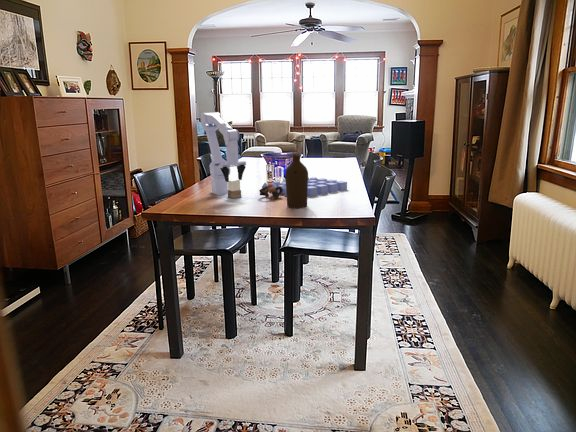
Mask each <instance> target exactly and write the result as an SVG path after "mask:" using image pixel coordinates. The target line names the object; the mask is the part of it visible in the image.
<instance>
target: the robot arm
mask: <svg viewBox="0 0 576 432" xmlns="http://www.w3.org/2000/svg"><path fill="white" fill-rule="evenodd" d="M200 124H201V127H202V130H203V131H205V134H206V137H207V142H208V146H209V149H210V153H211V157H212V161H211V162H210V164H209V165H208V166H209V173H210V176H211V177H212V179H211V182H210V183H211V191H210V194H214V195H218V196H223V195H228V182H229V180H230V179H229V178H230V177H229V176H230V174H231V168H232V167H236V170H237V180H240V181H242V179H243V175H244V172H245V169H246V166H247V161H244V160H243V161H242V160H241V161H239V150H238V149H239V147H238V141H239V139H240V132H239V130H238V129H235V128H234V129H233V128H232V127H231V125H230V124H228V122H224V121H223V119H222V115H221V113H220V112H219V111H216V112H202V113H201V115H200ZM216 131H219V133H221V135H222V136H223V140H224V145H225V147H226V149H225V150H226V159H224V158H223V156H222V152H221V149H220V145H219V141H218V137H217V132H216Z"/></svg>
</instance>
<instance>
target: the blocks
mask: <svg viewBox="0 0 576 432" xmlns="http://www.w3.org/2000/svg"><path fill="white" fill-rule="evenodd" d="M270 185H272V186H273V187H274V188H275V187H278V186H280V187H282V189H283V192H282V194H280V195H279V196H281V195H284V196H285V197H287V193H286V180H285V178H284V179H283V180H282V182H280V181H279V180H274V181H272V183H271V184H270ZM266 186H268V183H266V182H264V183H263V185H262V186H261V189H262V188H264V187H266ZM338 191H339V192H342V191H343V192H344V191H348V182H347V181H345V180H338V181H337V179H327V178H324V177H323V178H318V177H316V176H315V177H314V176H312V177H309V176H308V190H307V197H310V198H311V197H317V196H318V195H321V196H323V195H328V193H332V194H333V193H337V192H338ZM277 192H278V193H279V192H280V189H278V191H277Z"/></svg>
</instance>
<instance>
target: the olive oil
mask: <svg viewBox="0 0 576 432" xmlns="http://www.w3.org/2000/svg"><path fill="white" fill-rule="evenodd" d="M284 174H285V175H284V179H285V180H286V193H287V196H286V206H287V208H290V209H303V208H307V207H308V196H307V190H308V177H309V171H308V168H307V167H306V166H305V164H303V163H302V161H301V155H300V152H292V161H291V163H289V165H288V166H287V167H286V169H285V173H284Z"/></svg>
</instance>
